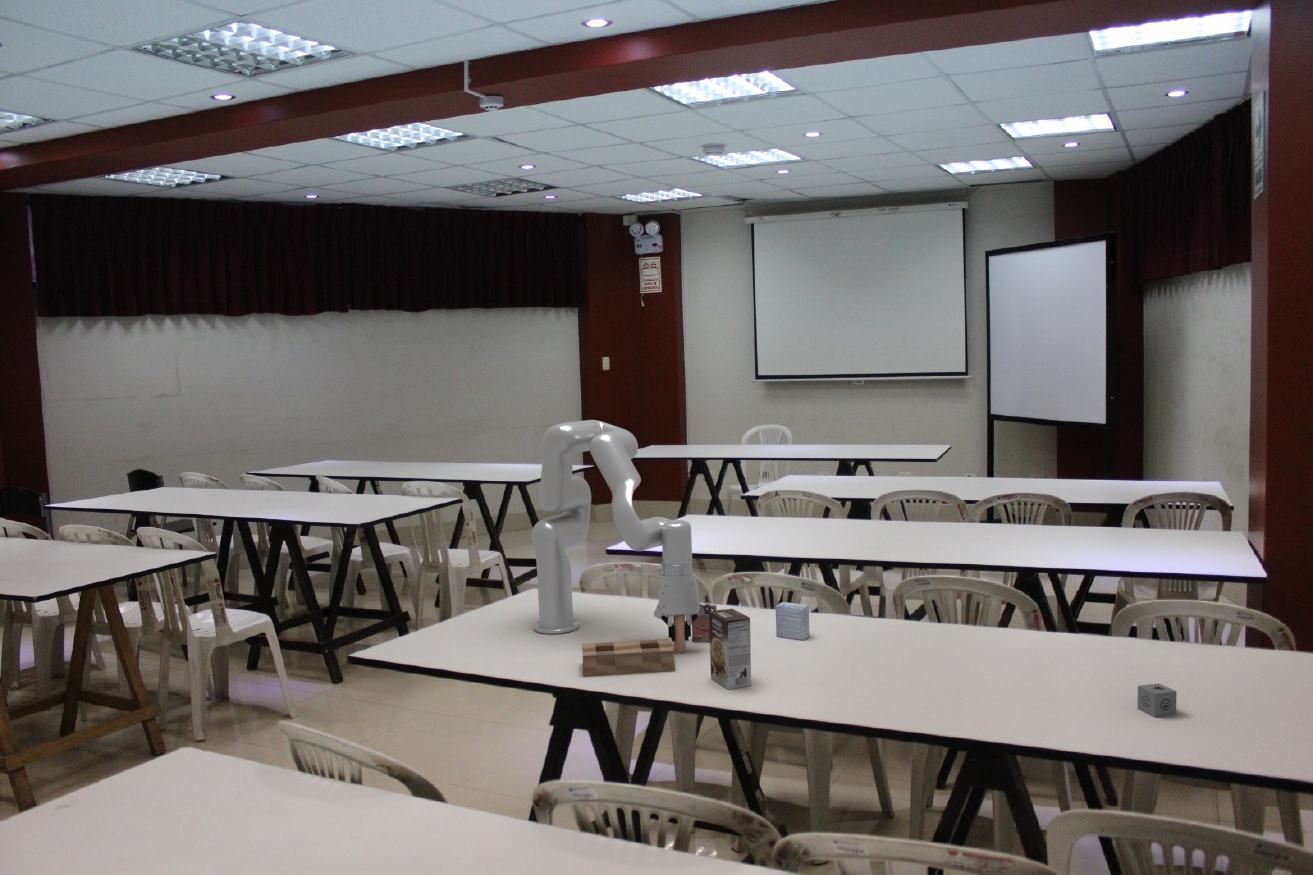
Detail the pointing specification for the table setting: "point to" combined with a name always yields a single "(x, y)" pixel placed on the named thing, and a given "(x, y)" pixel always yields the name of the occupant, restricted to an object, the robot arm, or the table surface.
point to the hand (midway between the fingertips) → (679, 639)
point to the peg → (679, 634)
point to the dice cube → (1157, 700)
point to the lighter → (702, 625)
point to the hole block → (628, 657)
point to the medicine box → (792, 621)
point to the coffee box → (730, 648)
